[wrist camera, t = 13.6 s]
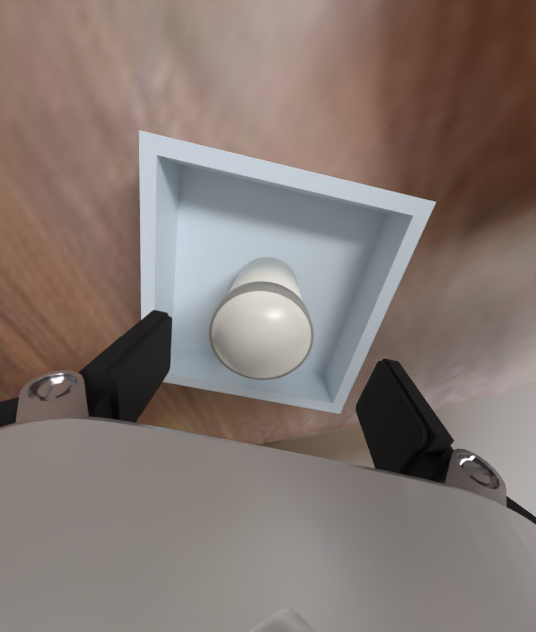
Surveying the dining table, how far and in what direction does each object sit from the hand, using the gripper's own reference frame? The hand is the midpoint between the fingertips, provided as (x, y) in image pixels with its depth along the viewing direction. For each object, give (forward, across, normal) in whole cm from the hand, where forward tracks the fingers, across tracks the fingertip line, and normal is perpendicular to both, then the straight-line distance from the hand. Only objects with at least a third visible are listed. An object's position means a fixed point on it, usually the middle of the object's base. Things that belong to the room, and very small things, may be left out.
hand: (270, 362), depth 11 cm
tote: (+13, +1, +1) cm, 13 cm away
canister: (+12, +1, +1) cm, 12 cm away
